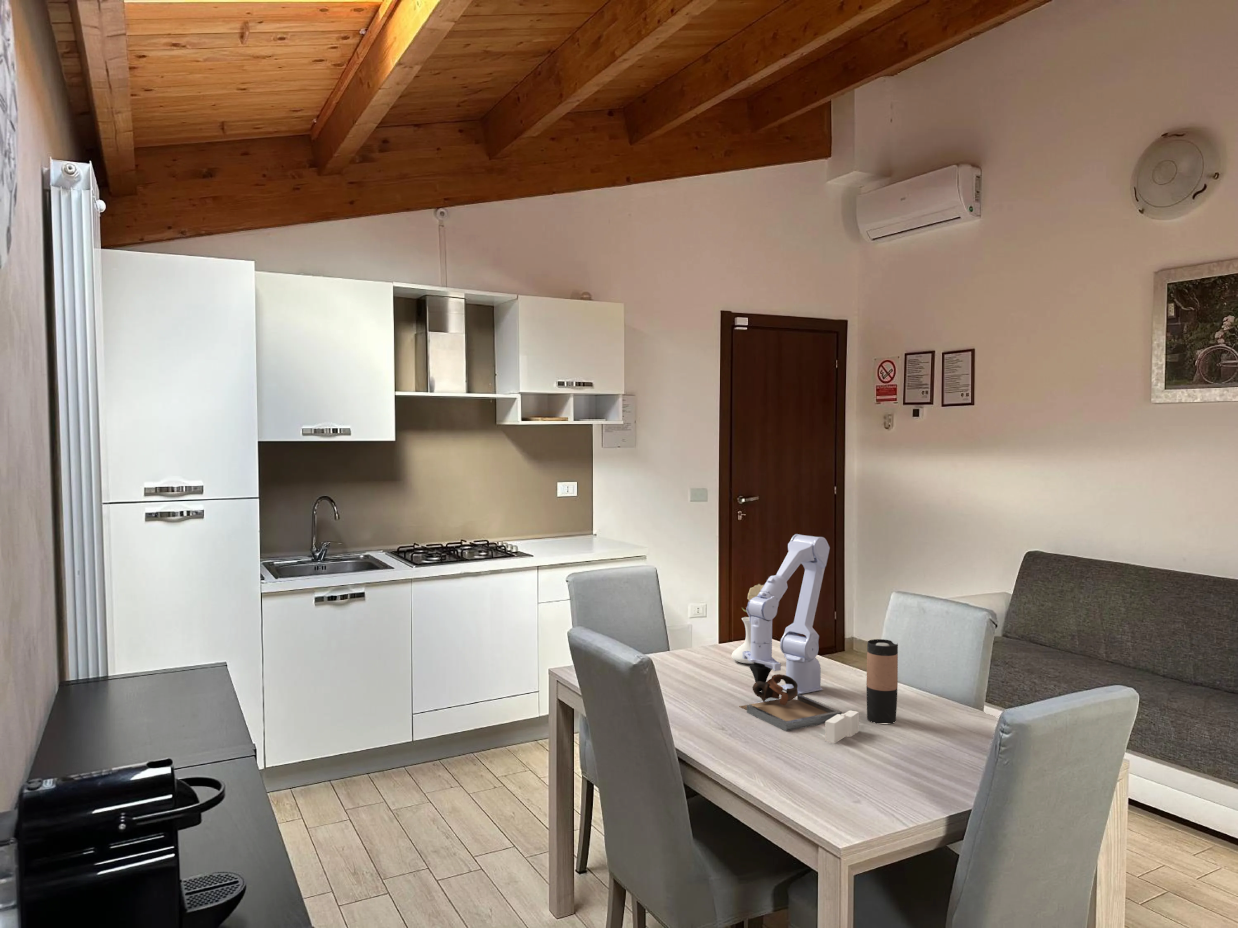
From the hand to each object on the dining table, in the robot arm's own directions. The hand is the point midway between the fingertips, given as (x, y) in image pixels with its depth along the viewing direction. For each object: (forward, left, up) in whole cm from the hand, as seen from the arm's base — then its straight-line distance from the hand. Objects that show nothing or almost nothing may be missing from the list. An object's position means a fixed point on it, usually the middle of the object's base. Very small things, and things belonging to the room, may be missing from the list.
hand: (760, 690), depth 241 cm
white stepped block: (-1, +31, -4) cm, 32 cm away
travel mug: (-18, +27, -3) cm, 32 cm away
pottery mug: (-2, +5, -2) cm, 6 cm away
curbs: (0, +14, -3) cm, 14 cm away
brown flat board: (0, +11, -3) cm, 11 cm away
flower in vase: (-22, -33, -3) cm, 40 cm away
